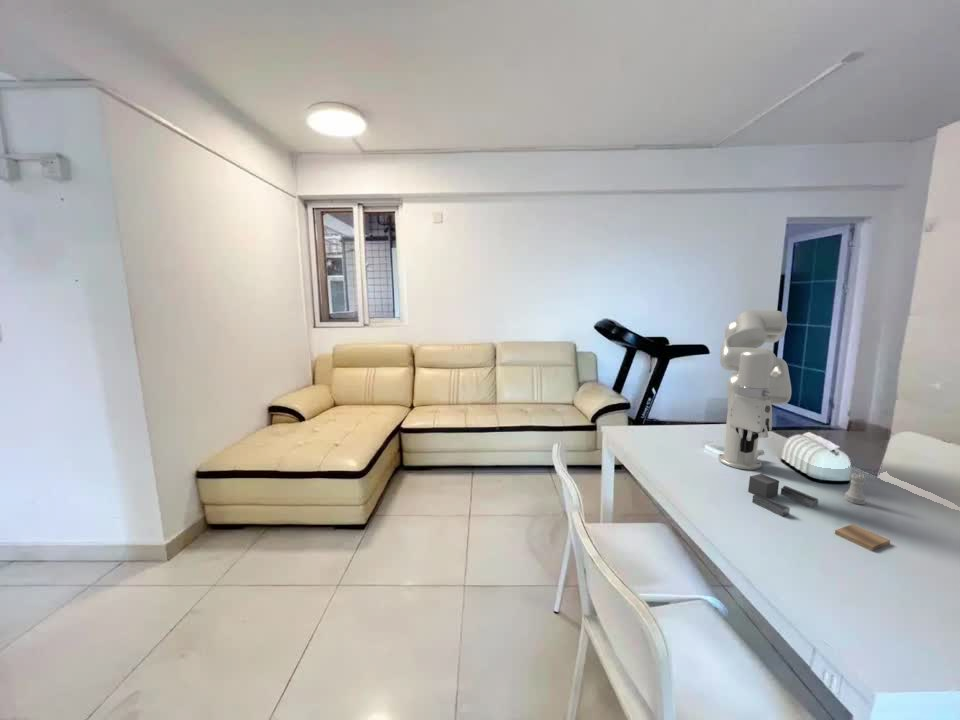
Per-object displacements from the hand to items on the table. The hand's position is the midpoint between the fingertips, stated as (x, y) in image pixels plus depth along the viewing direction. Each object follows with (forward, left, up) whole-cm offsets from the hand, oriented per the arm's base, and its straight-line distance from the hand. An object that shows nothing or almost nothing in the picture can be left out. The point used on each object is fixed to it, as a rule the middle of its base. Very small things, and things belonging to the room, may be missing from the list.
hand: (746, 451), depth 117 cm
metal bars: (-1, +12, -11) cm, 16 cm away
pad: (-1, +29, -11) cm, 31 cm away
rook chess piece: (-21, +18, -11) cm, 29 cm away
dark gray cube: (-1, +6, -11) cm, 13 cm away
